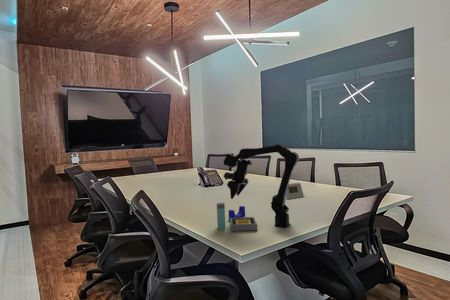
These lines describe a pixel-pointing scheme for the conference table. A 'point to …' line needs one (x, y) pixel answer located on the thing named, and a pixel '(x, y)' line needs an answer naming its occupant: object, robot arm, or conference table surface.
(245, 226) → the socket box
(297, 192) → the digital clock
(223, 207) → the plug
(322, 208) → the conference table surface
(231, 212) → the cable clip
